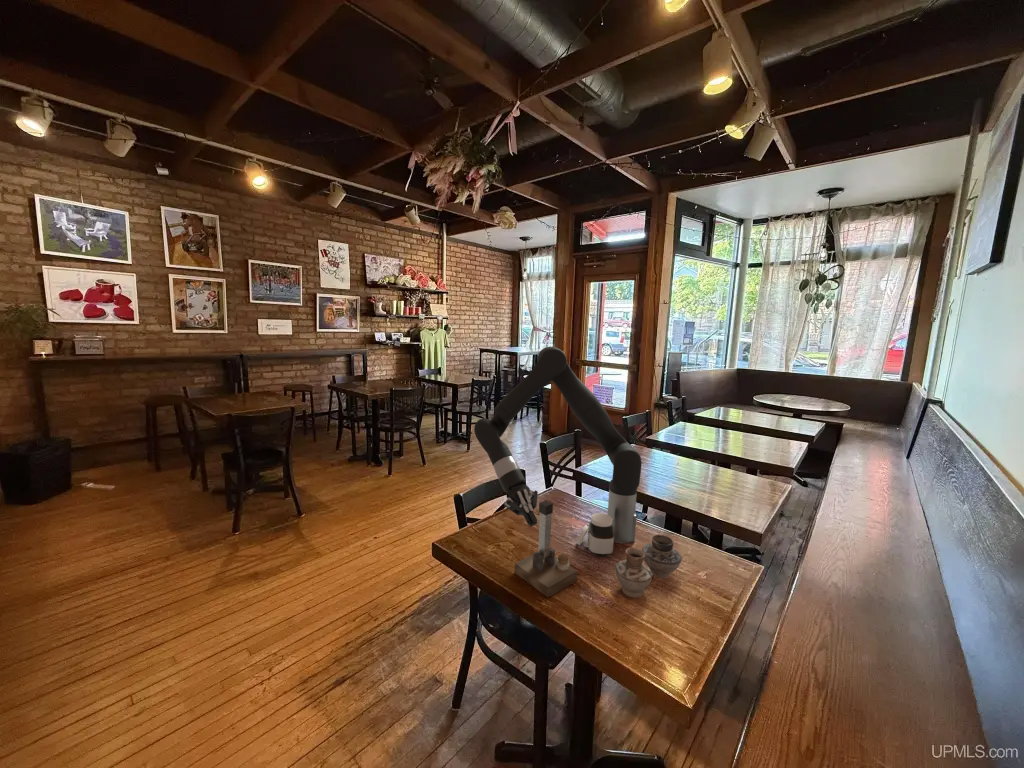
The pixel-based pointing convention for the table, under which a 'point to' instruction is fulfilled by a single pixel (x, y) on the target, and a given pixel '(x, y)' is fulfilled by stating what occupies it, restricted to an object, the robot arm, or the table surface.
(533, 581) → the press base
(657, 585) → the table surface
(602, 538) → the spread jar
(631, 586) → the pottery
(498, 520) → the table surface
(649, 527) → the table surface
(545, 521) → the lever
